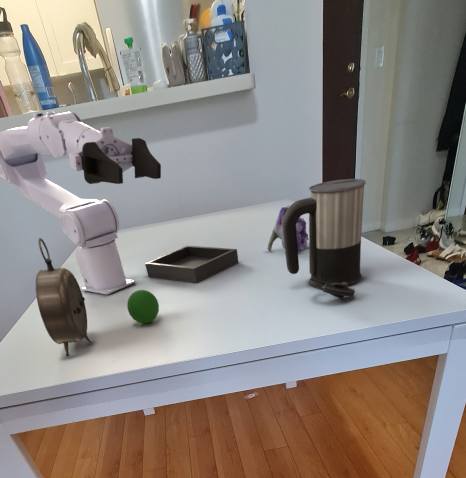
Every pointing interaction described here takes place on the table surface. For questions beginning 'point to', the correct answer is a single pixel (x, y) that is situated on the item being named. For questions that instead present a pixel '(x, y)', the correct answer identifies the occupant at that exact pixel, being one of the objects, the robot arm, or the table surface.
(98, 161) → the robot arm
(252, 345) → the table surface
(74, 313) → the alarm clock
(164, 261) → the tray
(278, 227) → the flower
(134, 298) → the green ball
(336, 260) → the milk frother
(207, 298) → the table surface
